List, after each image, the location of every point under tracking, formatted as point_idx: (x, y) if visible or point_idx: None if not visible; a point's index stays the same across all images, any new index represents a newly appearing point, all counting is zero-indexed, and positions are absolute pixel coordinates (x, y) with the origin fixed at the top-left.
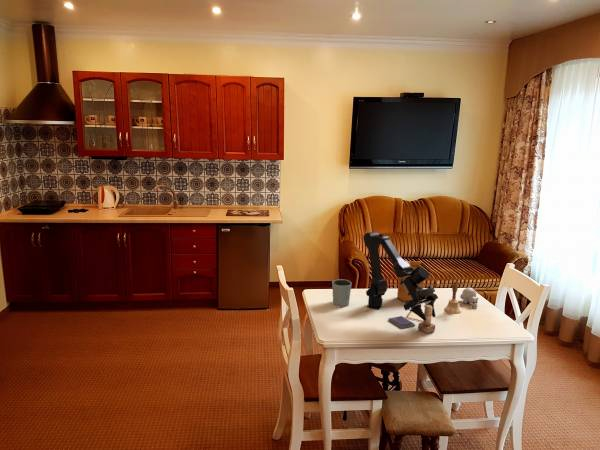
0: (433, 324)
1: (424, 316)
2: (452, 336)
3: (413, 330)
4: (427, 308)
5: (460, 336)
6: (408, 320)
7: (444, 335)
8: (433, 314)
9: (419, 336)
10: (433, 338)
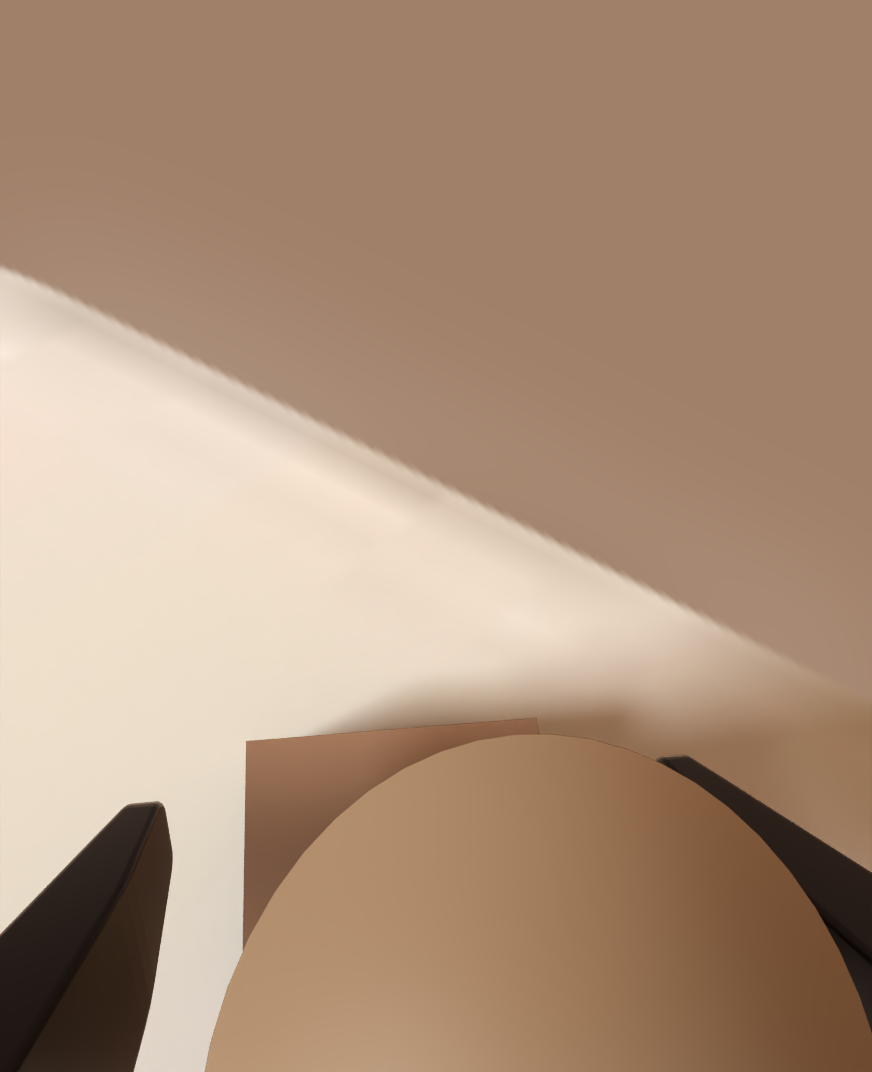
0: (248, 801)
1: (757, 817)
2: (151, 460)
3: None
4: (784, 910)
5: (29, 397)
6: None
7: (242, 549)
8: (138, 897)
9: (693, 740)
10: (513, 567)
